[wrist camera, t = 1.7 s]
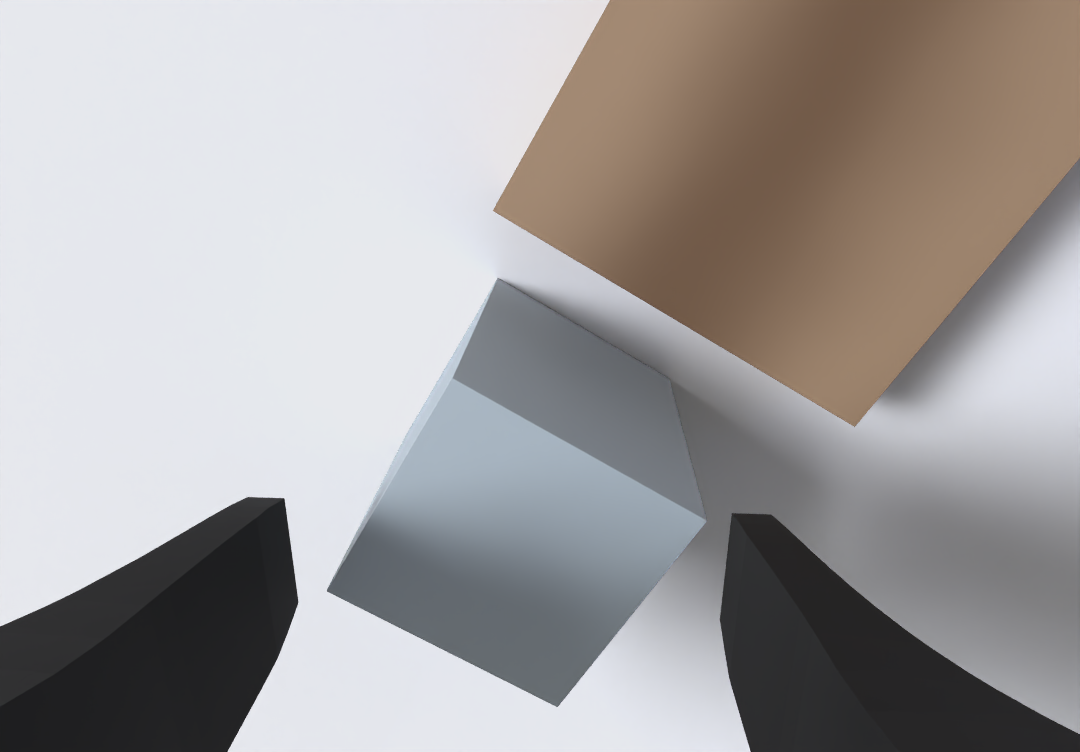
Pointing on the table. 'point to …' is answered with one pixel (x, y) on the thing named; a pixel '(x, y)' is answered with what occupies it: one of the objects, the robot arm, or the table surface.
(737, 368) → the table surface
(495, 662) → the grey block
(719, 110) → the walnut base
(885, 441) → the table surface
